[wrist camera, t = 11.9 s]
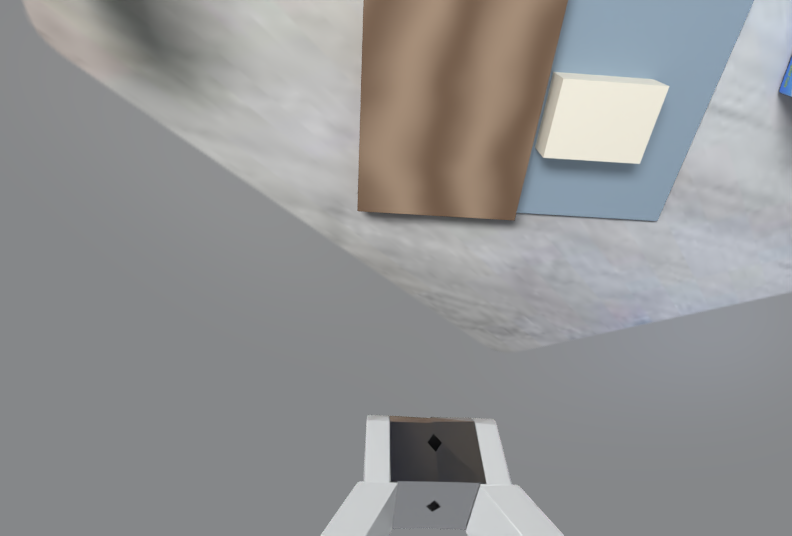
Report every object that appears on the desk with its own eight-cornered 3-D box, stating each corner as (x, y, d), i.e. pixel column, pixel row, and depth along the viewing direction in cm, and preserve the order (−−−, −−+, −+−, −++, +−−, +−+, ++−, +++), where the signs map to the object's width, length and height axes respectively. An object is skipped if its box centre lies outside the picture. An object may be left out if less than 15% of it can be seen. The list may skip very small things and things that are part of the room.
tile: (653, 79, 36) (669, 86, 34) (626, 153, 39) (639, 163, 37) (553, 71, 35) (563, 78, 33) (534, 147, 39) (543, 157, 37)
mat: (750, -1, 33) (754, -1, 33) (655, 218, 43) (657, 221, 43) (562, -18, 33) (564, -18, 32) (509, 210, 42) (510, 212, 42)
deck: (562, -18, 33) (572, -17, 31) (509, 210, 42) (514, 220, 41) (365, -35, 32) (364, -35, 30) (358, 201, 42) (357, 211, 40)
